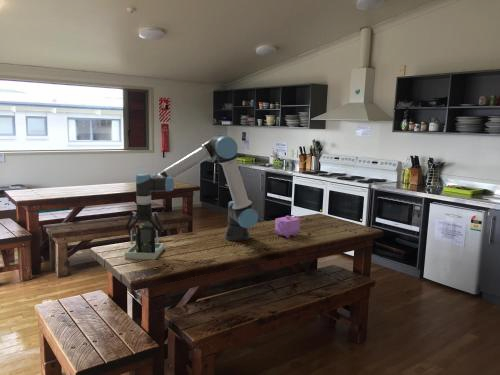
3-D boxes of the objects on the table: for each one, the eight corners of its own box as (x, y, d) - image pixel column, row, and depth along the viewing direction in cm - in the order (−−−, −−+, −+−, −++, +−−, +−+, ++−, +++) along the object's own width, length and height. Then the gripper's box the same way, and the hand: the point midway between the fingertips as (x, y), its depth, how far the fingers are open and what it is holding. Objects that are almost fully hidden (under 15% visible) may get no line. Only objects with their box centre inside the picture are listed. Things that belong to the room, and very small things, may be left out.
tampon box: (135, 249, 232) (134, 223, 230) (152, 247, 235) (151, 221, 233) (137, 255, 222) (136, 228, 219) (155, 253, 225) (154, 226, 223)
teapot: (283, 239, 259) (284, 219, 257) (272, 235, 267) (272, 216, 265) (305, 234, 272) (306, 215, 270) (294, 230, 280) (294, 212, 277)
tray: (164, 248, 237) (163, 243, 237) (155, 259, 219) (155, 253, 219) (135, 247, 238) (135, 242, 237) (124, 258, 220) (124, 252, 220)
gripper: (169, 202, 227) (169, 240, 231) (123, 201, 228) (124, 239, 232) (165, 205, 220) (166, 244, 223) (118, 203, 221) (119, 243, 224)
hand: (144, 242), depth 228 cm, fingers open, 13 cm apart
